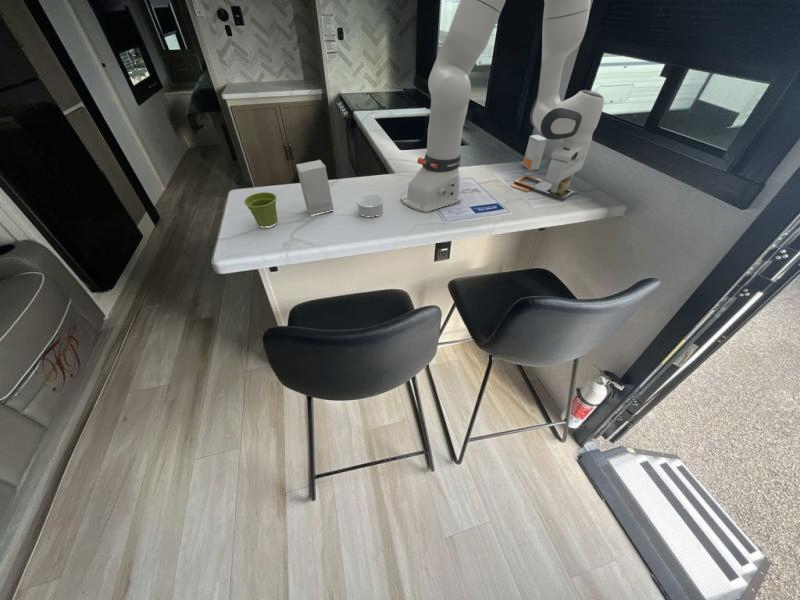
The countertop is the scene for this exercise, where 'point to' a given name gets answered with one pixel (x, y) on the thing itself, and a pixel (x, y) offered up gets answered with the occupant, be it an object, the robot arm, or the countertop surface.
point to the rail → (539, 187)
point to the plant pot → (263, 208)
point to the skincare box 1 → (315, 186)
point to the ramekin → (370, 200)
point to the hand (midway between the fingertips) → (559, 188)
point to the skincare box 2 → (534, 152)
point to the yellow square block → (562, 187)
